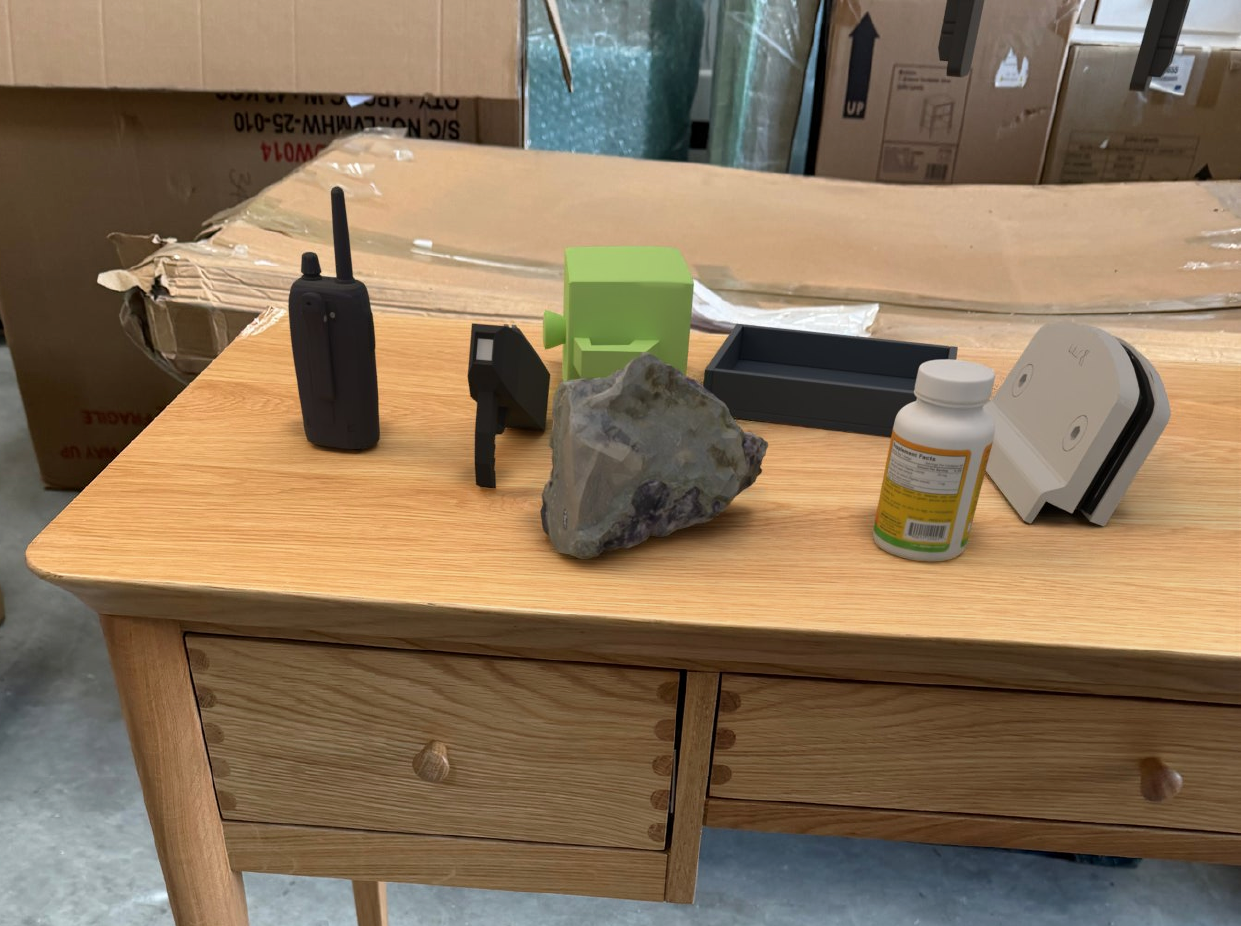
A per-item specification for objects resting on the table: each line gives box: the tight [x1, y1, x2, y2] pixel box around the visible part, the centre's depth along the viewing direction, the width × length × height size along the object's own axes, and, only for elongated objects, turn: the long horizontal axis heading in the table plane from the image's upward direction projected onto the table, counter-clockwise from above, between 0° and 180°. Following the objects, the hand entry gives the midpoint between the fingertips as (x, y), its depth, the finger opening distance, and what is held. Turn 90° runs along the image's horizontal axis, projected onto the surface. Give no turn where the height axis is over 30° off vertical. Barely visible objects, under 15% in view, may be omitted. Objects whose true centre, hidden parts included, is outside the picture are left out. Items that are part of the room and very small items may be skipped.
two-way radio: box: [287, 185, 381, 452], centre depth 73 cm, size 6×4×15 cm
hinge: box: [983, 320, 1172, 527], centre depth 75 cm, size 17×5×10 cm, turn 1°
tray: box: [702, 323, 959, 438], centre depth 87 cm, size 17×13×3 cm
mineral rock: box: [539, 352, 769, 560], centre depth 65 cm, size 13×11×10 cm
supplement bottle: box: [872, 359, 996, 563], centre depth 65 cm, size 5×5×10 cm
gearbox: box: [542, 245, 695, 382], centre depth 85 cm, size 18×10×10 cm, turn 2°
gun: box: [467, 323, 551, 490], centre depth 76 cm, size 3×16×10 cm, turn 170°
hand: (1045, 82), depth 56 cm, fingers open, 8 cm apart
